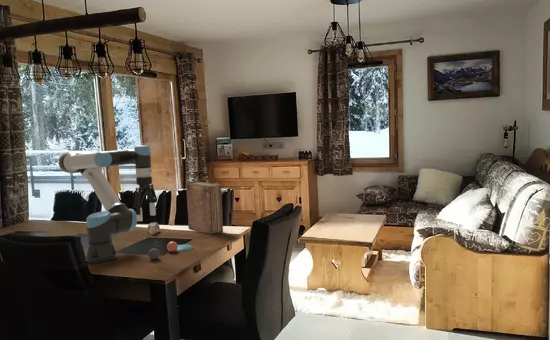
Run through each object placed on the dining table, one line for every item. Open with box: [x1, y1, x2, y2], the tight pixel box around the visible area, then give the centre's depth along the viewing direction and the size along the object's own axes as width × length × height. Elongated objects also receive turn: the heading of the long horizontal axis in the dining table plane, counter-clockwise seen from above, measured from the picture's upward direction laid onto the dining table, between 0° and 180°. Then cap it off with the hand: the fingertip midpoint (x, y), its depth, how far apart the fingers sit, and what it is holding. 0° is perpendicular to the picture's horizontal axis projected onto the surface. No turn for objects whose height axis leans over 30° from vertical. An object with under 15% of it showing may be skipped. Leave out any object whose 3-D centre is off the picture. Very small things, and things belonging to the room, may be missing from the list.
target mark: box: [173, 244, 194, 253], centre depth 244 cm, size 13×13×1 cm
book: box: [185, 181, 224, 236], centre depth 282 cm, size 25×9×30 cm, turn 43°
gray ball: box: [148, 247, 161, 260], centre depth 225 cm, size 6×6×6 cm
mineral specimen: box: [147, 222, 161, 236], centre depth 281 cm, size 13×7×6 cm, turn 30°
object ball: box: [166, 240, 179, 253], centre depth 237 cm, size 6×6×6 cm
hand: (146, 218), depth 226 cm, fingers open, 13 cm apart
